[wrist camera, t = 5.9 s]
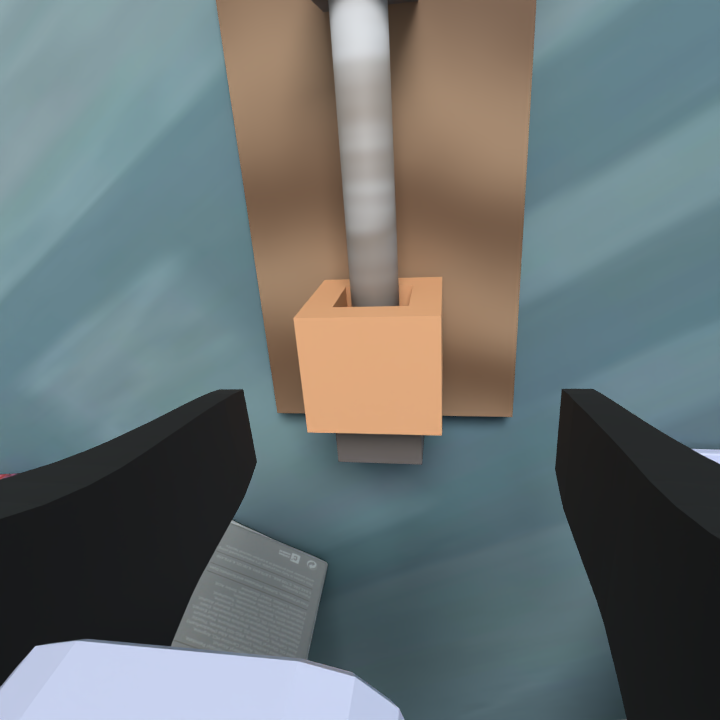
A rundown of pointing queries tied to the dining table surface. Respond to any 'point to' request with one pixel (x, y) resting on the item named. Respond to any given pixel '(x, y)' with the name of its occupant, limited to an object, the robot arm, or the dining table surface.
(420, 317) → the slider
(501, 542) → the dining table surface
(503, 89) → the rail
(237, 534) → the skincare box
